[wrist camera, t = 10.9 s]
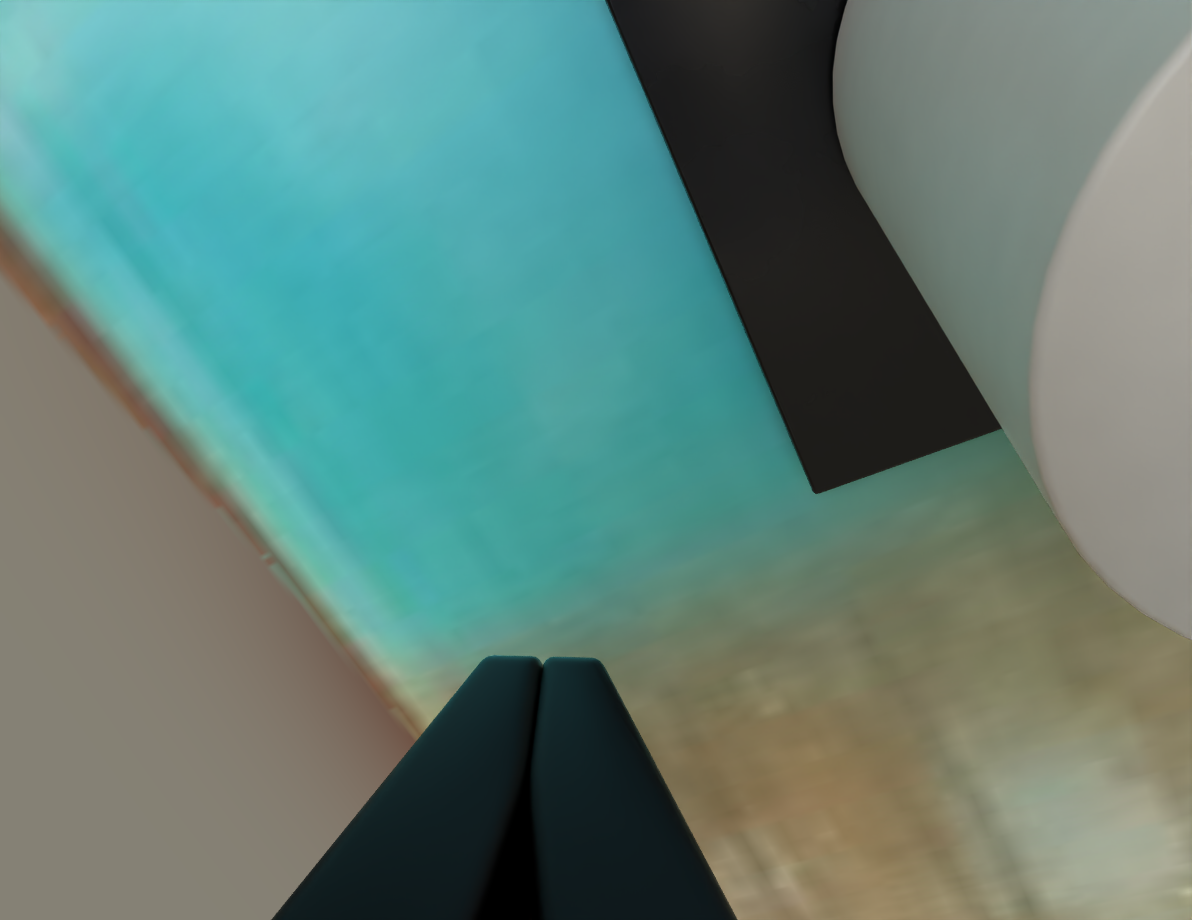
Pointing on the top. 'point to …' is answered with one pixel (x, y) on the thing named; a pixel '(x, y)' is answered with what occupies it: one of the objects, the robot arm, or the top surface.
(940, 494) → the top surface
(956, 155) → the towel roll
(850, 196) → the holder
